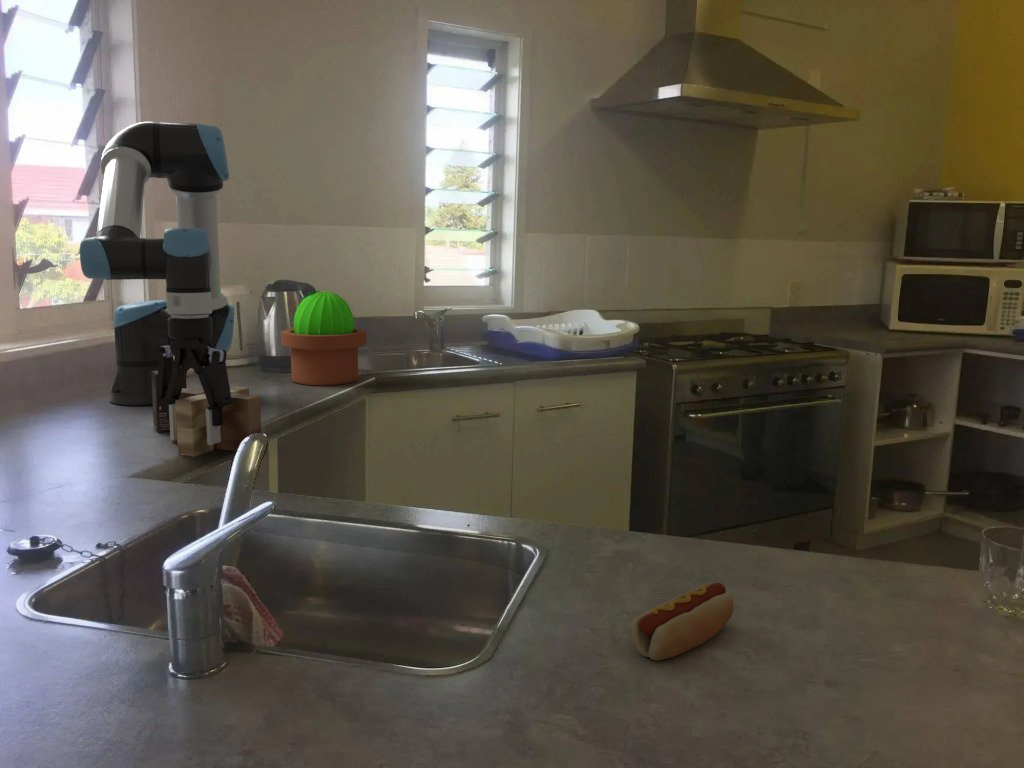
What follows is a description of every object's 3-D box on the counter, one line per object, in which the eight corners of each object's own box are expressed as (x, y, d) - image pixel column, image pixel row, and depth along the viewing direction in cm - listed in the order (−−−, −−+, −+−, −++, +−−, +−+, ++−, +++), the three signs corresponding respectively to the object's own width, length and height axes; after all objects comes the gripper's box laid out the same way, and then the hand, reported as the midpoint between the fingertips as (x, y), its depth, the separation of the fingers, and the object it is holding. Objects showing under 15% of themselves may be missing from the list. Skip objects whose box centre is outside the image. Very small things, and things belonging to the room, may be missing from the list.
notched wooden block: (172, 442, 168) (169, 391, 166) (185, 439, 171) (183, 388, 169) (249, 452, 161) (247, 399, 159) (261, 448, 164) (260, 396, 163)
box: (158, 433, 175) (155, 373, 173) (153, 429, 179) (150, 370, 177) (189, 430, 179) (186, 371, 177) (184, 425, 182) (181, 368, 180)
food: (665, 675, 82) (667, 625, 81) (618, 655, 86) (620, 607, 85) (743, 630, 92) (745, 584, 91) (698, 613, 96) (700, 570, 95)
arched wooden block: (193, 456, 158) (191, 401, 156) (178, 454, 159) (175, 400, 157) (250, 438, 172) (249, 387, 171) (236, 436, 174) (234, 386, 172)
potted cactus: (382, 381, 241) (381, 289, 237) (316, 390, 225) (314, 292, 221) (333, 371, 255) (331, 285, 251) (267, 380, 239) (264, 288, 235)
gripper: (129, 314, 157) (136, 439, 161) (222, 320, 149) (227, 451, 153) (160, 311, 164) (166, 431, 168) (250, 317, 156) (255, 442, 160)
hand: (195, 440), depth 160 cm, fingers open, 8 cm apart
